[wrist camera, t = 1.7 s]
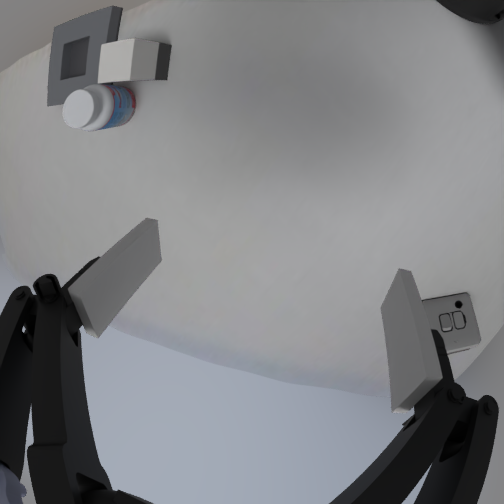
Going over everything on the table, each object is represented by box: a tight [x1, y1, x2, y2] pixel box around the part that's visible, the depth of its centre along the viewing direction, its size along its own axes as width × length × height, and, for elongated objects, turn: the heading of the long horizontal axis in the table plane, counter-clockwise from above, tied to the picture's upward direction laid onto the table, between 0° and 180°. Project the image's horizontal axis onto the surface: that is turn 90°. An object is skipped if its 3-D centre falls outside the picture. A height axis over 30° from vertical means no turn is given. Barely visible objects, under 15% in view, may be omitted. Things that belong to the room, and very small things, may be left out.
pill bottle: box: [63, 84, 136, 131], centre depth 27 cm, size 6×6×11 cm
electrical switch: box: [422, 293, 481, 354], centre depth 33 cm, size 9×5×9 cm, turn 107°
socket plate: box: [47, 6, 123, 106], centre depth 27 cm, size 15×14×2 cm
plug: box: [98, 38, 172, 83], centre depth 25 cm, size 5×5×8 cm
